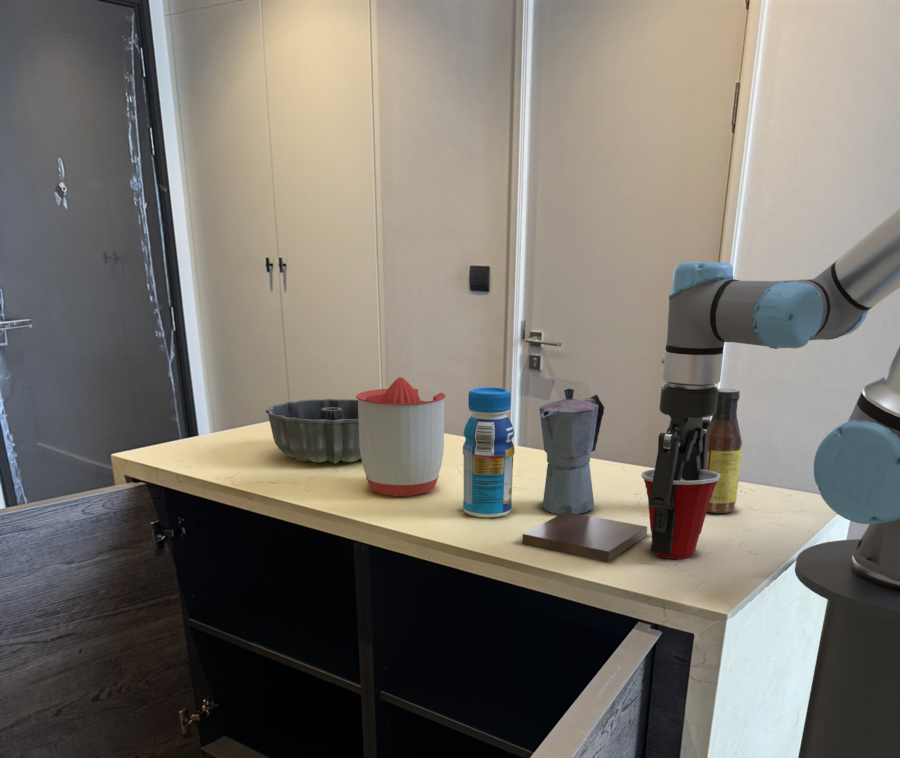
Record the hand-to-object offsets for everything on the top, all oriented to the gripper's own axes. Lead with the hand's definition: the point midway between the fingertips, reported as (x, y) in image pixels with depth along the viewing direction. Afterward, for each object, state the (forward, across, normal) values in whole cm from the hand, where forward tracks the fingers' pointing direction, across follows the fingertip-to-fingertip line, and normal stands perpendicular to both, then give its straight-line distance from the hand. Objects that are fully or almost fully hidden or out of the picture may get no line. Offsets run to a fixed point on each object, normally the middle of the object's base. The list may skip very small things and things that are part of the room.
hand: (673, 543), depth 125 cm
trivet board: (+1, +2, -13) cm, 13 cm away
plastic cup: (+2, 0, 0) cm, 2 cm away
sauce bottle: (+2, -25, -2) cm, 25 cm away
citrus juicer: (+2, -6, -53) cm, 53 cm away
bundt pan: (+2, -18, -81) cm, 83 cm away
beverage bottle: (+2, -2, -33) cm, 33 cm away
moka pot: (+2, -12, -23) cm, 26 cm away
